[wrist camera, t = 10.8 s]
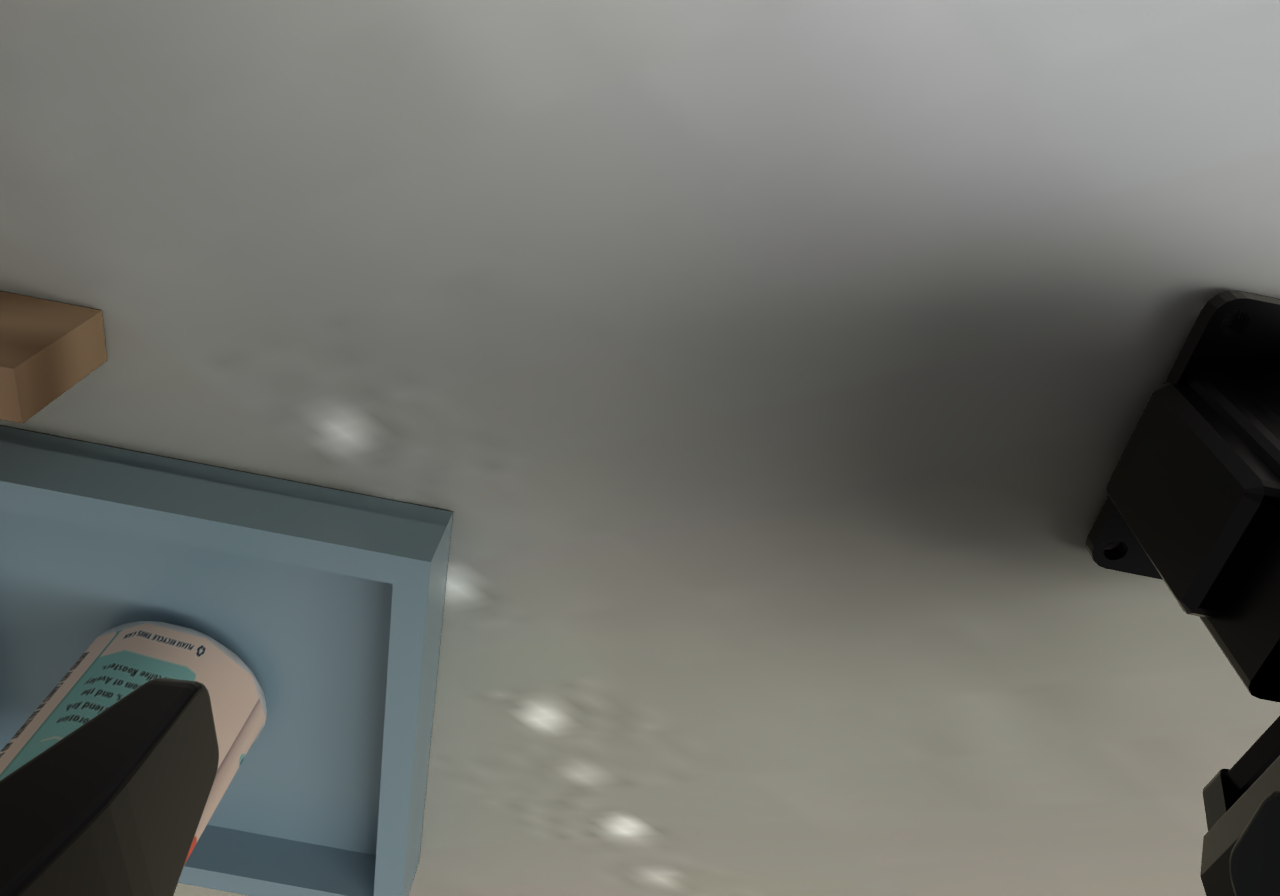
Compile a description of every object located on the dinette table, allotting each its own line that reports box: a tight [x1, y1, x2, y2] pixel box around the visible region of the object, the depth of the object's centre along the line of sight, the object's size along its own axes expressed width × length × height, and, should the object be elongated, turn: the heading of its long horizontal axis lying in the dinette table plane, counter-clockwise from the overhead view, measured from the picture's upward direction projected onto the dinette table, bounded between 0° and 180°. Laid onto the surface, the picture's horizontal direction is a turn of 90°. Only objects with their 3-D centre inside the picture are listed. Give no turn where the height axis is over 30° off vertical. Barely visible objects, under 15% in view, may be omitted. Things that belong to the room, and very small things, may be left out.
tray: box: [0, 426, 453, 896], centre depth 25 cm, size 13×13×2 cm
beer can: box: [0, 621, 267, 865], centre depth 20 cm, size 5×5×12 cm
